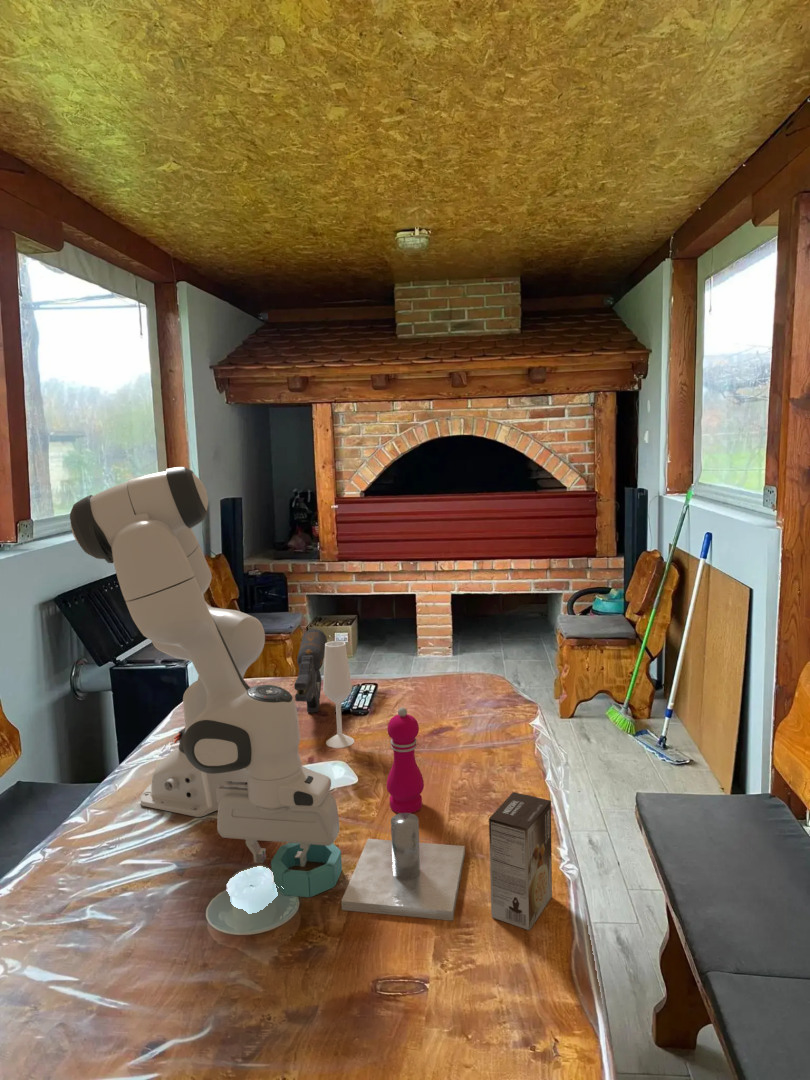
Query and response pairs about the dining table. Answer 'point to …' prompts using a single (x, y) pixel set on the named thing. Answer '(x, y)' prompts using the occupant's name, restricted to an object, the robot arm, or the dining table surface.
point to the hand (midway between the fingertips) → (280, 862)
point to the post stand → (406, 875)
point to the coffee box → (520, 859)
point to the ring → (306, 880)
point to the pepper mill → (404, 765)
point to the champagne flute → (337, 686)
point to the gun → (310, 669)
